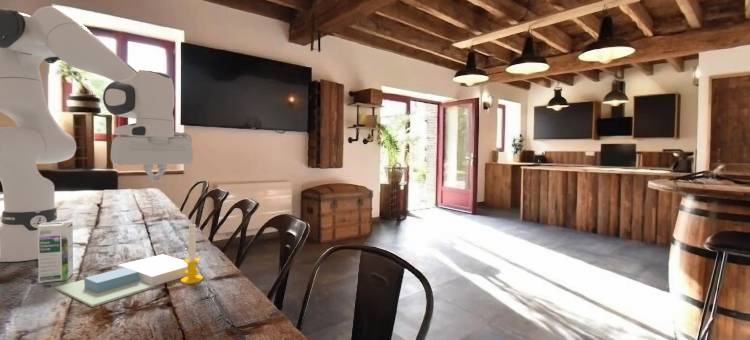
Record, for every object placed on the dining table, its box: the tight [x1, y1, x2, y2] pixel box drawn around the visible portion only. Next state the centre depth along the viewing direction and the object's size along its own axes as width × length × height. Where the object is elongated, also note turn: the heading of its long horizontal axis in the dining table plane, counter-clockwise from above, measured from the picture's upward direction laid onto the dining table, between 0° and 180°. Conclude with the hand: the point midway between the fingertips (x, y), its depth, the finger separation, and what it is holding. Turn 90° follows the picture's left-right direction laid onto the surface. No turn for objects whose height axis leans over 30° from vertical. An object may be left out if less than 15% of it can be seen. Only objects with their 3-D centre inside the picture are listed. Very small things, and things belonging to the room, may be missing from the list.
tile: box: [83, 267, 139, 294], centre depth 87 cm, size 6×9×2 cm, turn 152°
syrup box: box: [37, 220, 74, 284], centre depth 91 cm, size 6×6×14 cm
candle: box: [180, 221, 204, 285], centre depth 93 cm, size 5×5×16 cm
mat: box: [54, 279, 155, 308], centre depth 86 cm, size 18×13×1 cm
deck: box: [117, 253, 188, 287], centre depth 97 cm, size 16×12×2 cm
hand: (155, 181), depth 97 cm, fingers closed
